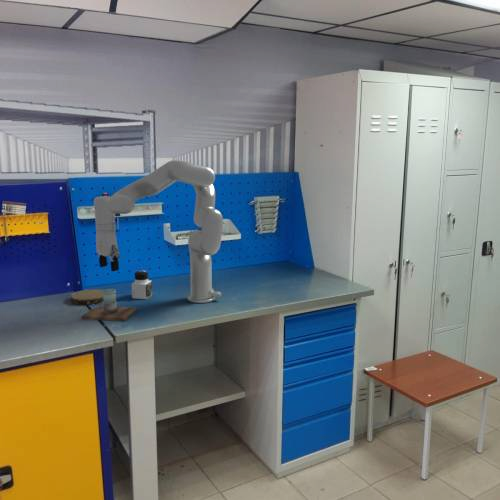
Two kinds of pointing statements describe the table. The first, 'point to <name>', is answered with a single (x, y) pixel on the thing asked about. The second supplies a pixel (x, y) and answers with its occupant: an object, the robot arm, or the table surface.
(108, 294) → the cap
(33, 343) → the table surface
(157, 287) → the table surface
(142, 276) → the medicine bottle
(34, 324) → the table surface
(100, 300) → the wood slice
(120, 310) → the stud board
